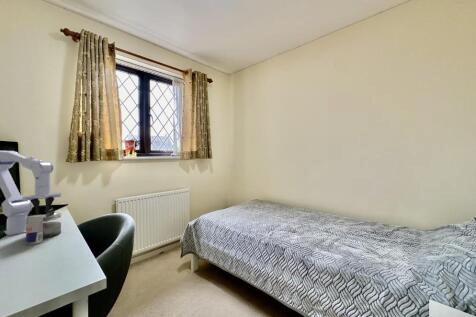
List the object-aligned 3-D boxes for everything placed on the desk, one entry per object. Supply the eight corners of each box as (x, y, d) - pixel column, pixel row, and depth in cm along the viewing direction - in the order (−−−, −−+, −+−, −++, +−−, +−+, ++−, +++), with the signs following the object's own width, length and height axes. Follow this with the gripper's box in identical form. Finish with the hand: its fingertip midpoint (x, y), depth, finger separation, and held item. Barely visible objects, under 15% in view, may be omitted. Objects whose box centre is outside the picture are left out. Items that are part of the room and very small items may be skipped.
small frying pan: (21, 226, 106) (21, 224, 106) (55, 220, 117) (55, 218, 117) (33, 216, 96) (32, 214, 97) (69, 211, 108) (68, 208, 108)
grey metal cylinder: (22, 236, 105) (22, 226, 106) (55, 229, 116) (55, 220, 116) (30, 241, 98) (30, 230, 98) (65, 233, 109) (65, 224, 109)
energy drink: (23, 244, 96) (24, 216, 96) (39, 240, 101) (39, 214, 101) (29, 246, 93) (29, 218, 94) (44, 242, 98) (45, 215, 98)
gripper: (25, 188, 102) (25, 217, 101) (63, 185, 114) (63, 211, 114) (21, 187, 106) (20, 215, 105) (58, 184, 118) (58, 209, 117)
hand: (42, 213), depth 110 cm, fingers open, 3 cm apart
